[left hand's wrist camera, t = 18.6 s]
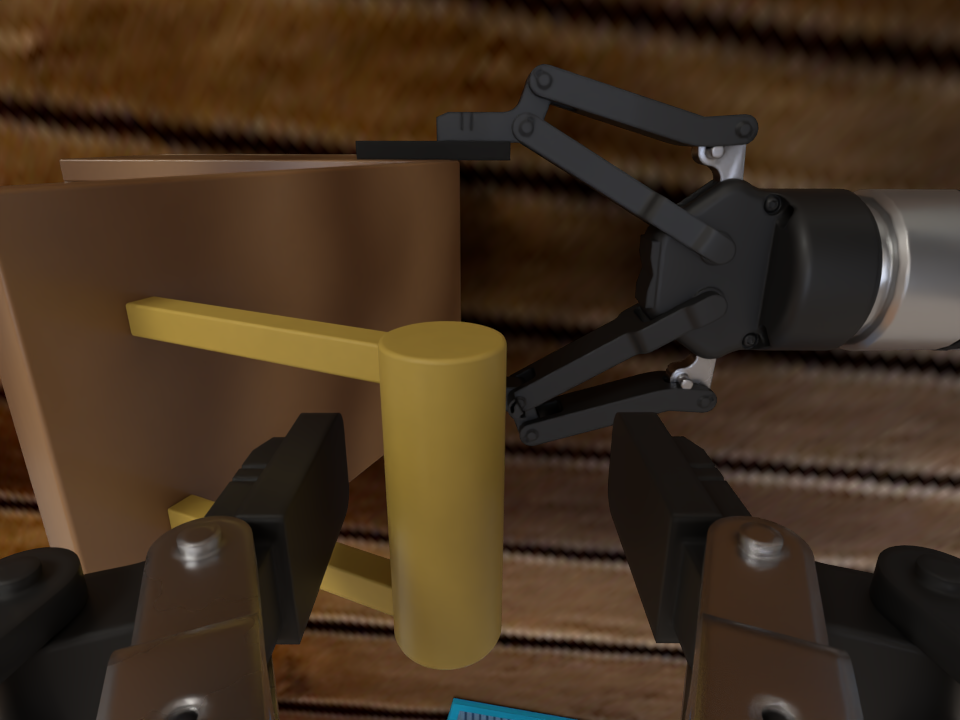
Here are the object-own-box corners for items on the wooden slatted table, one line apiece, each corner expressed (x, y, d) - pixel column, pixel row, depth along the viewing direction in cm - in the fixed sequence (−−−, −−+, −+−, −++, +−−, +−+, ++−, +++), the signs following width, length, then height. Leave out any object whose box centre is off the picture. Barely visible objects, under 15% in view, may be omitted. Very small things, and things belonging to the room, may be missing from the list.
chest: (195, 328, 37) (109, 386, 28) (166, 153, 33) (57, 158, 25) (459, 329, 37) (453, 386, 28) (457, 154, 33) (450, 160, 25)
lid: (80, 658, 13) (438, 849, 10) (-58, 189, 10) (418, 219, 6) (442, 389, 28) (640, 426, 24) (438, 160, 24) (668, 164, 21)
